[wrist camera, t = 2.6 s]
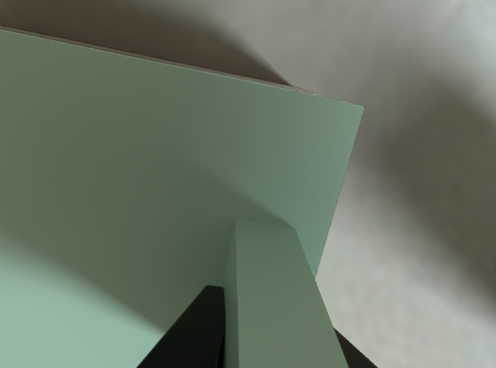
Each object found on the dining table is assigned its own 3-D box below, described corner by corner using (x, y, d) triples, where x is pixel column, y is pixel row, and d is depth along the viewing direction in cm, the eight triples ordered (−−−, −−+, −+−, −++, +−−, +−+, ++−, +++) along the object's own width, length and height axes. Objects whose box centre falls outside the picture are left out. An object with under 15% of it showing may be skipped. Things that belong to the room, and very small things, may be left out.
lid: (262, 426, 12) (286, 707, 6) (-159, 377, 10) (-530, 672, 5) (353, 102, 9) (522, 155, 4) (-217, -17, 7) (-1151, -187, 2)
